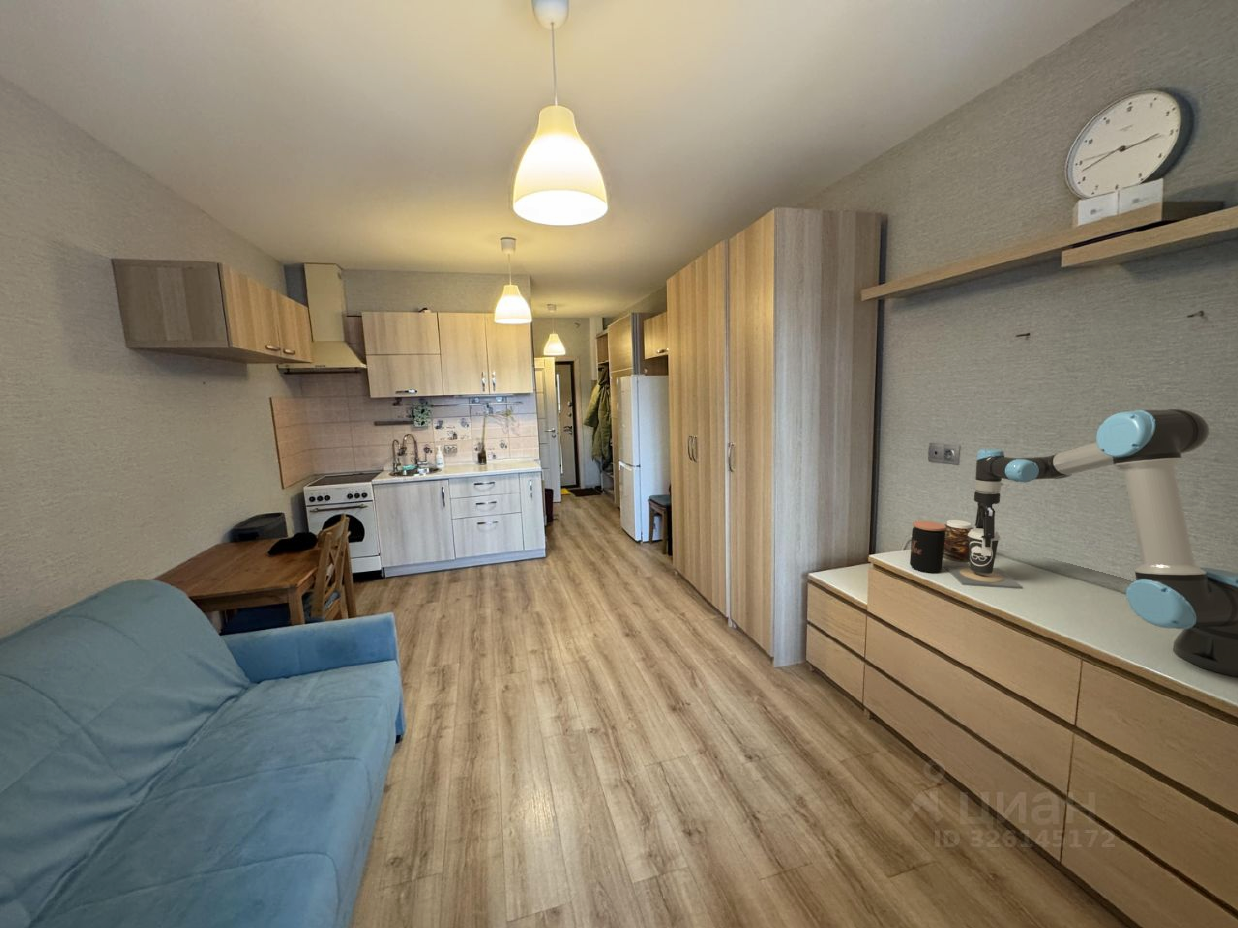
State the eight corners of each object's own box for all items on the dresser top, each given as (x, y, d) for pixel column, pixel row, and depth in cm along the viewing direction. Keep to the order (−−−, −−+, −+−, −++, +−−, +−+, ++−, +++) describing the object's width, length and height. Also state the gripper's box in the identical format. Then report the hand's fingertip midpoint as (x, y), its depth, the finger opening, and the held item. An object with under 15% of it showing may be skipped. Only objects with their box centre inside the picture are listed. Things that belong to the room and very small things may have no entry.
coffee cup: (1003, 575, 168) (1007, 535, 166) (973, 574, 170) (976, 534, 168) (988, 566, 178) (991, 528, 176) (960, 565, 180) (962, 527, 177)
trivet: (1022, 588, 163) (1023, 586, 163) (962, 584, 168) (962, 582, 168) (998, 570, 180) (998, 567, 180) (943, 566, 185) (944, 564, 185)
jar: (976, 556, 196) (978, 521, 194) (972, 564, 187) (974, 527, 185) (942, 550, 204) (944, 517, 202) (937, 558, 195) (939, 523, 193)
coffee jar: (908, 562, 191) (911, 519, 188) (939, 565, 187) (943, 522, 184) (911, 571, 182) (914, 526, 179) (944, 575, 177) (948, 529, 174)
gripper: (1009, 498, 158) (1003, 561, 161) (992, 486, 178) (988, 543, 181) (981, 497, 162) (977, 559, 165) (968, 485, 181) (964, 541, 184)
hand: (982, 550), depth 173 cm, fingers closed on coffee cup, 9 cm apart
